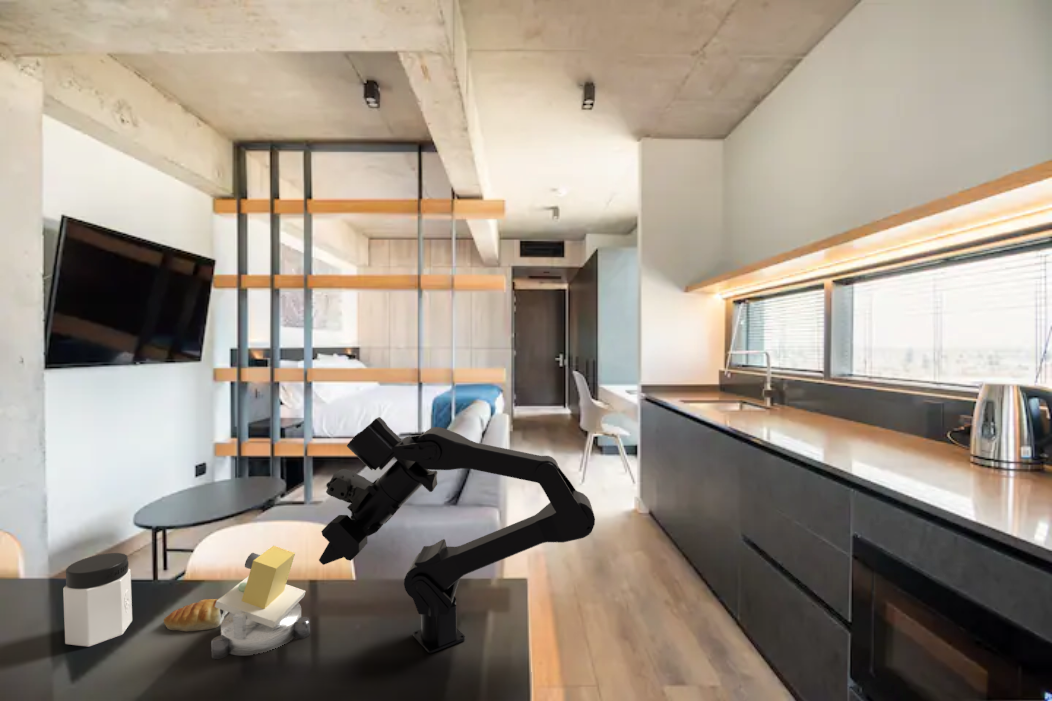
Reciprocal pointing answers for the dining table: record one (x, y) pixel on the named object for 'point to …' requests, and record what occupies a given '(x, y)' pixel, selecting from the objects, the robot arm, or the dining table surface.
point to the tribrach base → (257, 634)
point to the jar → (97, 599)
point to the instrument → (264, 588)
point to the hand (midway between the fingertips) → (328, 555)
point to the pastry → (196, 616)
